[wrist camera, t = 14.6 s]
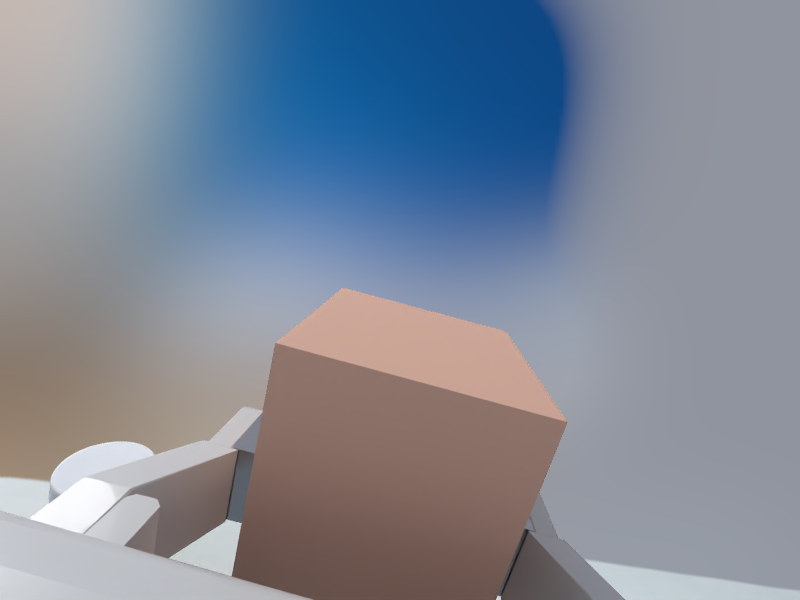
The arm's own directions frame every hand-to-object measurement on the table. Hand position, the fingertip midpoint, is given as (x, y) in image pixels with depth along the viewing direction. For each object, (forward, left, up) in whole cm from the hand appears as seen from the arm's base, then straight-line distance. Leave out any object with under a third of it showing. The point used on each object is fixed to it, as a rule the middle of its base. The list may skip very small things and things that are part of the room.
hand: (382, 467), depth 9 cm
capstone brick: (0, -1, -6) cm, 6 cm away
